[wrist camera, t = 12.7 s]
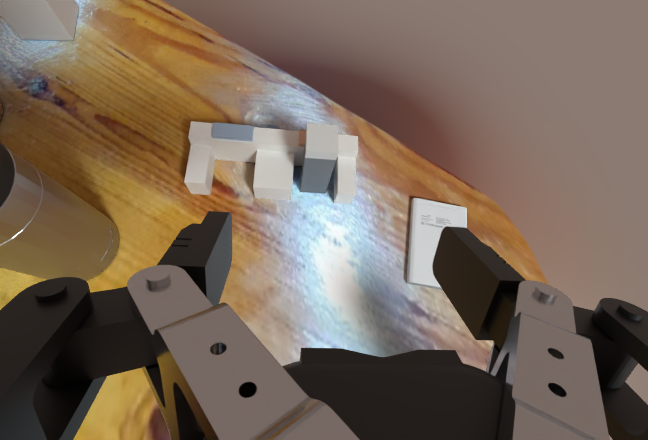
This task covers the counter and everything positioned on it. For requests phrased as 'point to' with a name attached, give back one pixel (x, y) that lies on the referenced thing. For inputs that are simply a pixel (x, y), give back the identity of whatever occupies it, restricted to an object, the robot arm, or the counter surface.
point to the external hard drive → (429, 237)
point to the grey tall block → (318, 157)
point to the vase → (1, 109)
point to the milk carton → (41, 18)
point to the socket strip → (263, 158)
